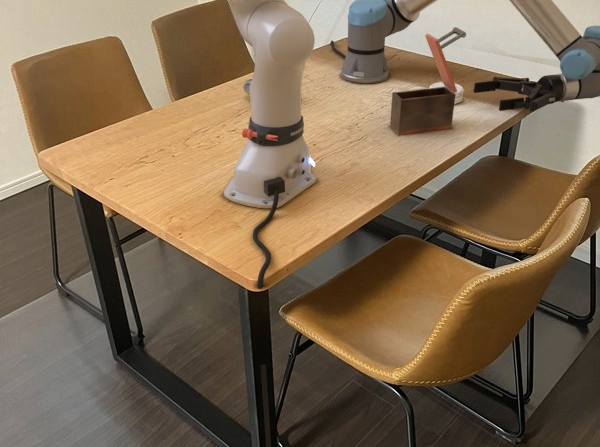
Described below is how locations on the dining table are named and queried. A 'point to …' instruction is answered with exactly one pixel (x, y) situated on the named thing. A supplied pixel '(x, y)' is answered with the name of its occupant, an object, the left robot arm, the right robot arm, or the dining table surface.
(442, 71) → the lid
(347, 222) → the dining table surface
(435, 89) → the chest
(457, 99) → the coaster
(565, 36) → the right robot arm
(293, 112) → the left robot arm
